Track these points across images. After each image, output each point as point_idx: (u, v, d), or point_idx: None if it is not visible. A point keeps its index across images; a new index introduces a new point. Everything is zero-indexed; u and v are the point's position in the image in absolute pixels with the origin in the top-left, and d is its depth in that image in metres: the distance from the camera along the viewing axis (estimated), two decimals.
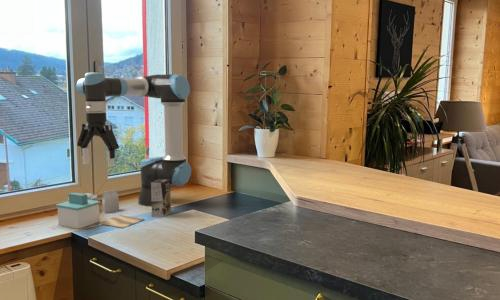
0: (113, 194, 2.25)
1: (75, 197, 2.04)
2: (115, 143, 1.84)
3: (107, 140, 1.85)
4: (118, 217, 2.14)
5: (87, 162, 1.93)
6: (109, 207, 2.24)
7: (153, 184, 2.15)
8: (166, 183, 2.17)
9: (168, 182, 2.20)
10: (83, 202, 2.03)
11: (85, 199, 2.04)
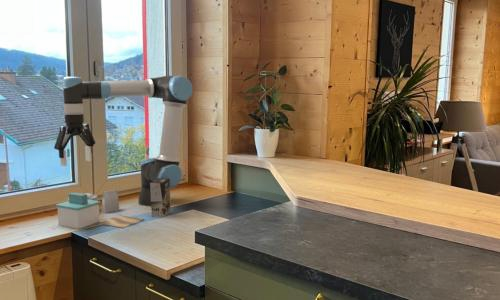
0: (113, 194, 2.25)
1: (75, 197, 2.04)
2: (57, 144, 1.93)
3: (63, 140, 1.97)
4: (118, 217, 2.14)
5: (88, 160, 2.08)
6: (109, 207, 2.24)
7: (152, 184, 2.14)
8: (165, 183, 2.16)
9: (167, 182, 2.19)
10: (83, 202, 2.03)
11: (85, 199, 2.04)
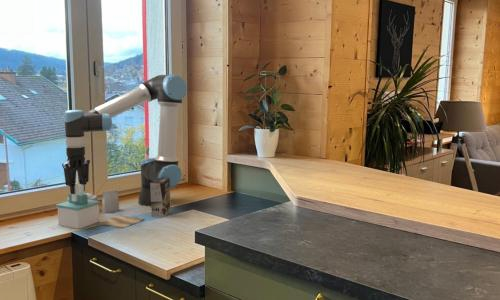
0: (113, 194, 2.25)
1: None
2: (67, 181, 2.00)
3: None
4: (118, 217, 2.14)
5: None
6: (109, 207, 2.24)
7: (152, 184, 2.14)
8: (165, 183, 2.16)
9: (167, 182, 2.19)
10: (83, 202, 2.03)
11: (85, 199, 2.04)
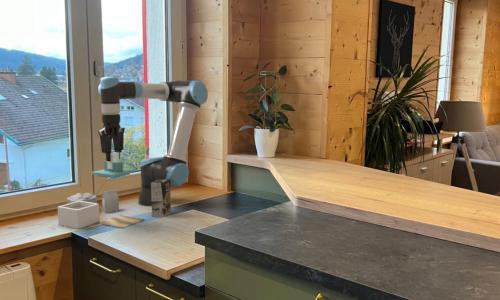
0: (113, 194, 2.25)
1: None
2: (103, 148, 1.99)
3: None
4: (118, 217, 2.14)
5: None
6: (109, 207, 2.24)
7: (153, 184, 2.15)
8: (166, 183, 2.17)
9: (168, 182, 2.20)
10: (119, 169, 2.03)
11: (121, 167, 2.04)
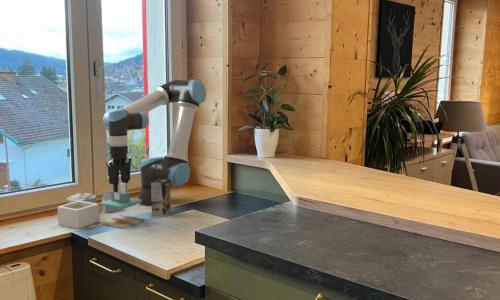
0: None
1: None
2: (111, 180, 2.01)
3: None
4: (118, 217, 2.14)
5: None
6: None
7: (153, 184, 2.15)
8: (166, 183, 2.17)
9: (168, 182, 2.20)
10: (126, 200, 2.05)
11: (128, 197, 2.06)
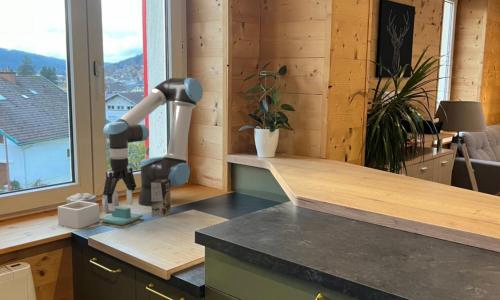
0: (113, 194, 2.25)
1: (119, 211, 2.07)
2: (106, 190, 1.99)
3: (110, 185, 2.02)
4: None
5: (129, 203, 2.12)
6: None
7: (153, 184, 2.15)
8: (166, 183, 2.17)
9: (168, 182, 2.20)
10: (127, 216, 2.06)
11: (128, 213, 2.07)
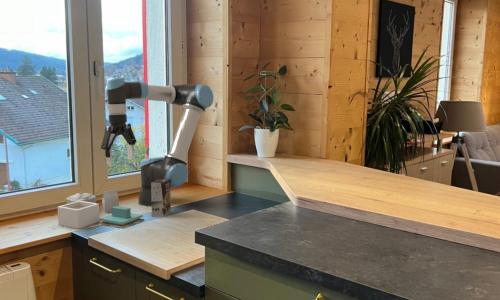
0: (113, 194, 2.25)
1: (119, 211, 2.07)
2: (104, 144, 1.99)
3: (109, 140, 2.02)
4: None
5: (130, 158, 2.15)
6: (109, 207, 2.24)
7: (153, 184, 2.15)
8: (166, 183, 2.17)
9: (168, 182, 2.20)
10: (127, 216, 2.06)
11: (128, 213, 2.07)
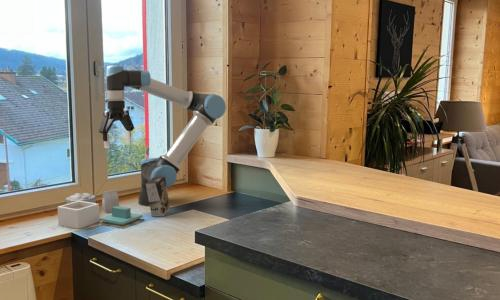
0: (113, 194, 2.25)
1: (119, 211, 2.07)
2: (101, 128, 2.08)
3: (106, 125, 2.11)
4: None
5: (128, 143, 2.23)
6: (109, 207, 2.24)
7: (148, 185, 2.13)
8: (161, 182, 2.15)
9: (163, 180, 2.17)
10: (127, 216, 2.06)
11: (128, 213, 2.07)
